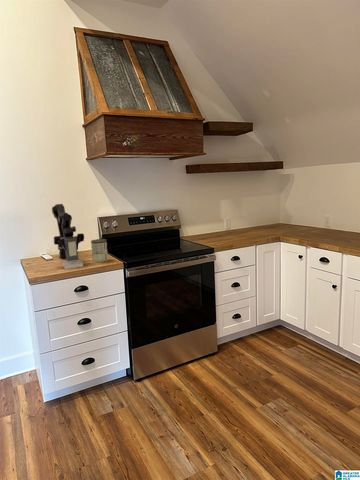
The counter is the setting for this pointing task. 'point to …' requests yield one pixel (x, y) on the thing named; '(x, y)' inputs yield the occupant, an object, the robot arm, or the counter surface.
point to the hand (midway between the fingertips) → (71, 249)
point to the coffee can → (99, 250)
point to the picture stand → (72, 264)
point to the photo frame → (71, 249)
